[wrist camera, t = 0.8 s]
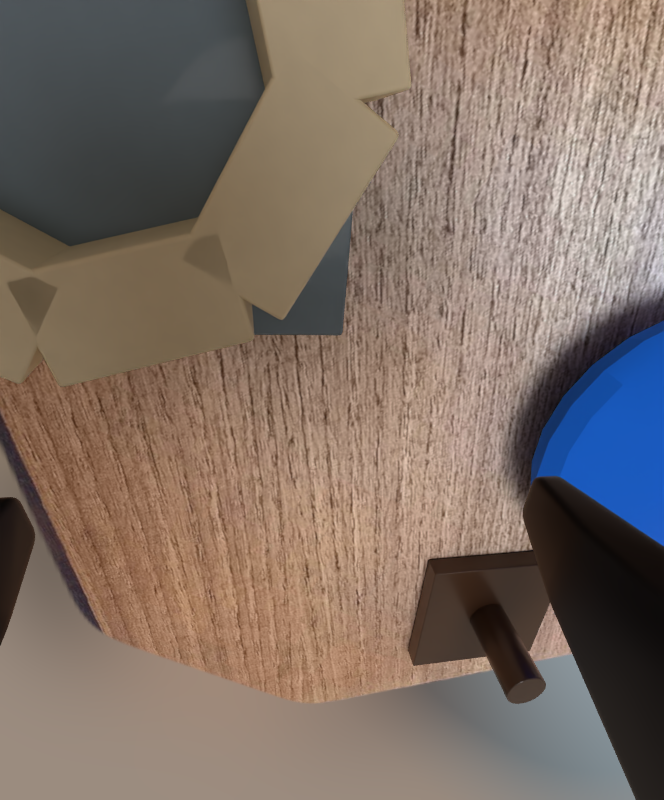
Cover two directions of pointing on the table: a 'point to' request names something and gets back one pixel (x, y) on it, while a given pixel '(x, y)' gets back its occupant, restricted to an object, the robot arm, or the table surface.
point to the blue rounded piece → (614, 433)
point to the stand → (484, 617)
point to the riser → (136, 125)
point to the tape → (221, 211)
